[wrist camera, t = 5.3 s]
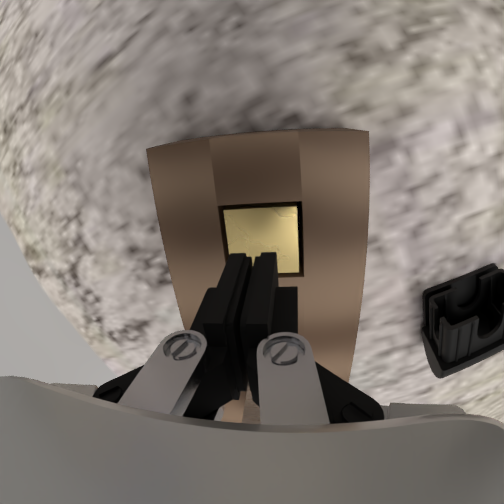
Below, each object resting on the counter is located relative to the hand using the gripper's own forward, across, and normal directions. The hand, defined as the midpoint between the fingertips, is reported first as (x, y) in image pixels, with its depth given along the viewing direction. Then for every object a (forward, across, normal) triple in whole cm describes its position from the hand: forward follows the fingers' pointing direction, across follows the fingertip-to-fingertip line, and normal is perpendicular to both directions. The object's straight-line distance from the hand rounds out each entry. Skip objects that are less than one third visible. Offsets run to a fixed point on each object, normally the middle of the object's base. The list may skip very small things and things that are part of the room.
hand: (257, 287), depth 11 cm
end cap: (+12, -18, +11) cm, 25 cm away
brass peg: (+12, 0, +1) cm, 12 cm away
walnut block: (+12, 0, +8) cm, 14 cm away
